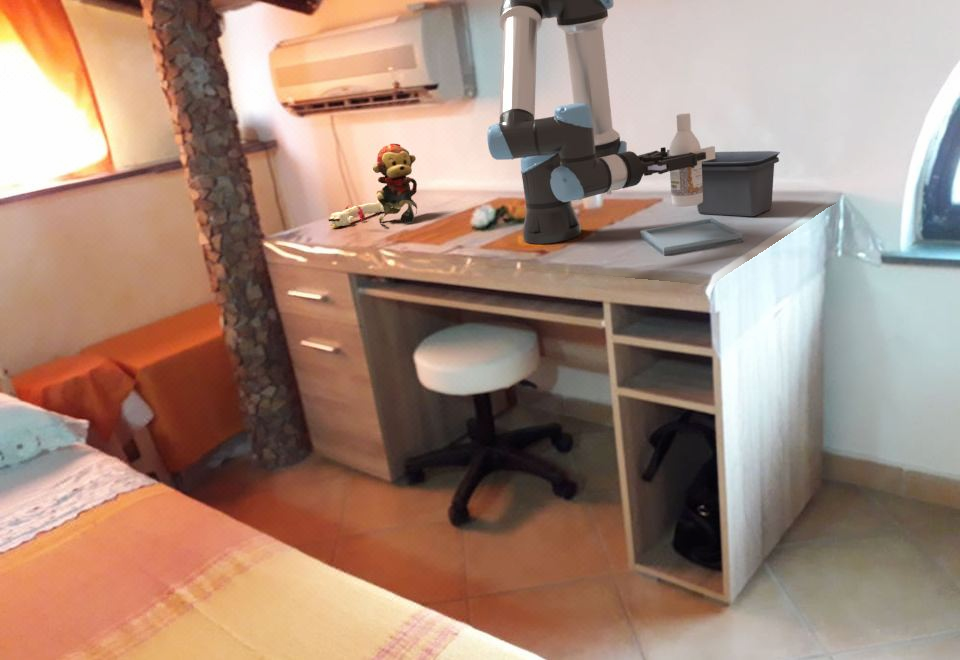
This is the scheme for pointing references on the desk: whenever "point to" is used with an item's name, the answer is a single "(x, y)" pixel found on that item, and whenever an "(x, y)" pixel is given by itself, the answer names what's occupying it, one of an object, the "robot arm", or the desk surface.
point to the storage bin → (738, 183)
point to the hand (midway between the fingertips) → (702, 151)
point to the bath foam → (687, 179)
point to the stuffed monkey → (396, 181)
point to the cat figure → (354, 213)
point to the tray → (690, 236)
